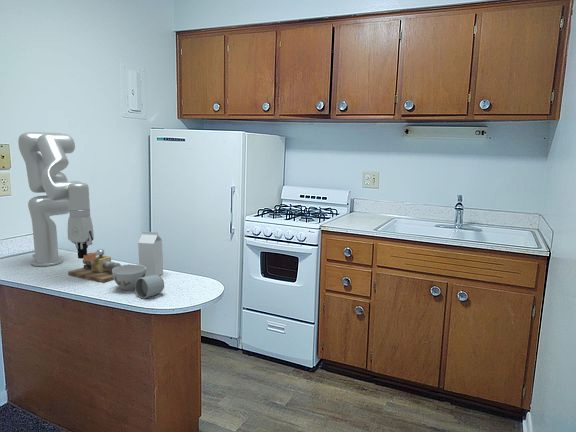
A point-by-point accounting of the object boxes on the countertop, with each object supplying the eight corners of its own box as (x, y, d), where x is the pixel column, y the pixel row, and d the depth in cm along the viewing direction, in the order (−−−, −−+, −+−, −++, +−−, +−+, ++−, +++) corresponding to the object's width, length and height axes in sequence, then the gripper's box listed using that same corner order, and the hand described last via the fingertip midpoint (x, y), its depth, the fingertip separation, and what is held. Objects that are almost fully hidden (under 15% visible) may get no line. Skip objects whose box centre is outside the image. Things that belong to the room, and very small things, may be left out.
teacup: (129, 295, 157) (128, 274, 156) (105, 290, 163) (104, 270, 161) (158, 284, 170) (157, 265, 169) (135, 279, 176) (134, 261, 175)
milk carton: (155, 278, 178) (153, 234, 175) (139, 277, 179) (137, 233, 176) (163, 273, 185) (161, 230, 182) (148, 272, 186) (146, 230, 183)
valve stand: (68, 274, 181) (66, 255, 180) (100, 265, 195) (99, 247, 194) (103, 283, 171) (102, 262, 170) (134, 272, 185) (133, 254, 184)
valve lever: (99, 253, 183) (99, 248, 183) (105, 253, 183) (105, 248, 183) (83, 260, 172) (83, 255, 172) (90, 260, 172) (89, 255, 171)
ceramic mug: (166, 294, 159) (165, 274, 158) (148, 300, 152) (147, 279, 151) (147, 289, 165) (146, 270, 164) (129, 295, 158) (128, 275, 157)
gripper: (58, 213, 171) (62, 257, 174) (85, 216, 165) (88, 262, 168) (75, 211, 178) (77, 253, 181) (101, 213, 172) (103, 258, 175)
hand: (82, 257), depth 174 cm, fingers closed
